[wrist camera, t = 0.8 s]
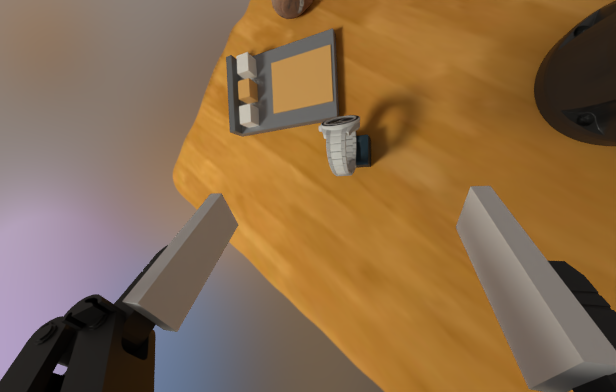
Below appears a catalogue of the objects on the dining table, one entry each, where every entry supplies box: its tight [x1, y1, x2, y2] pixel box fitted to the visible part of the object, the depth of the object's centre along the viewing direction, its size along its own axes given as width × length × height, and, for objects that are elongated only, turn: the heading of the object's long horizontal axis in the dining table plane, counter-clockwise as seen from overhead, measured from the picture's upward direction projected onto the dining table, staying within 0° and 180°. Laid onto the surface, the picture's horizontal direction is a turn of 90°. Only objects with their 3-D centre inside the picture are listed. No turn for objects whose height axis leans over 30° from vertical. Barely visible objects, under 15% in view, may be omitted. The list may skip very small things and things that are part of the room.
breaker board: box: [226, 29, 339, 137], centre depth 38 cm, size 20×14×4 cm
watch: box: [319, 115, 371, 176], centre depth 30 cm, size 6×8×11 cm
